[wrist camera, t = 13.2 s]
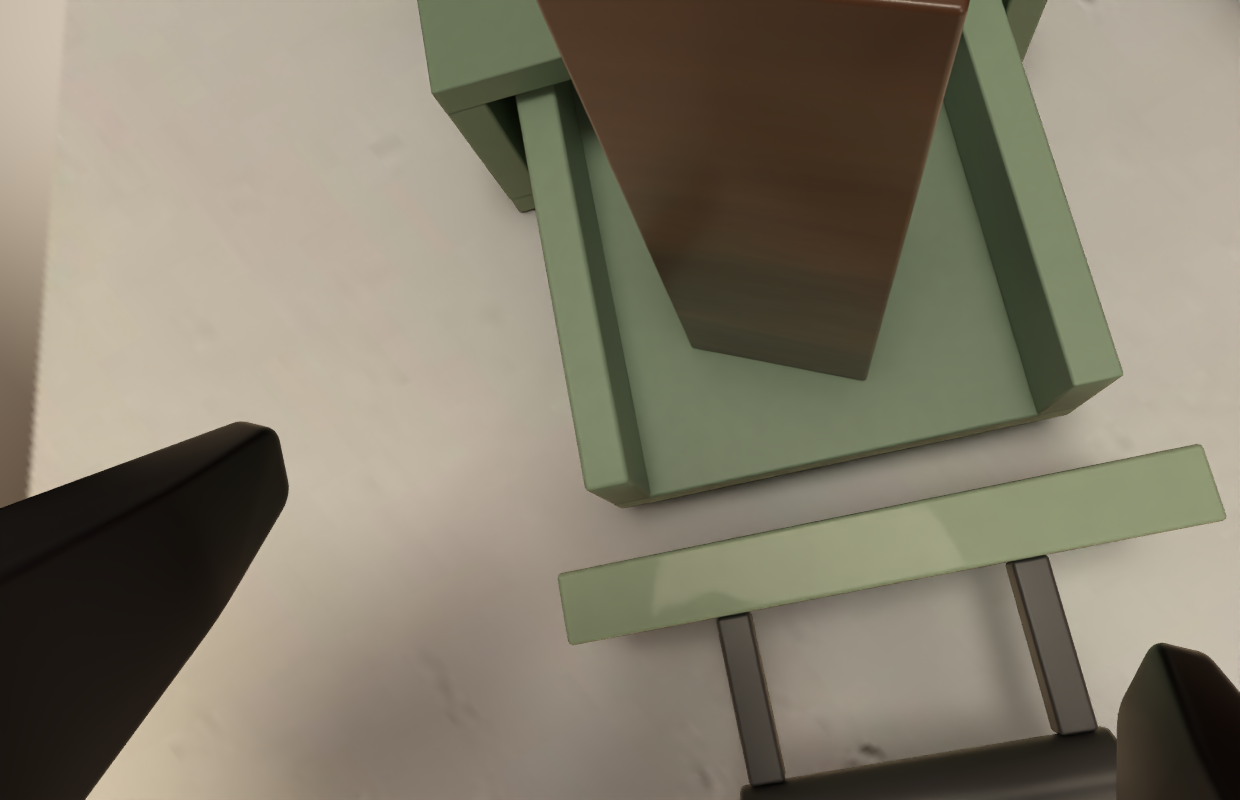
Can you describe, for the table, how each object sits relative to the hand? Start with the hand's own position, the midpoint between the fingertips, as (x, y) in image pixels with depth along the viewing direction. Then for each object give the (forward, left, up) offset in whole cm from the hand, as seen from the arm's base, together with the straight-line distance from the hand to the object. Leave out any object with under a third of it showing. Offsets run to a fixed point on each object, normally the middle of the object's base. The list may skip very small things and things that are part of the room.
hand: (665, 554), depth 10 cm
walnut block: (+5, +4, -9) cm, 11 cm away
